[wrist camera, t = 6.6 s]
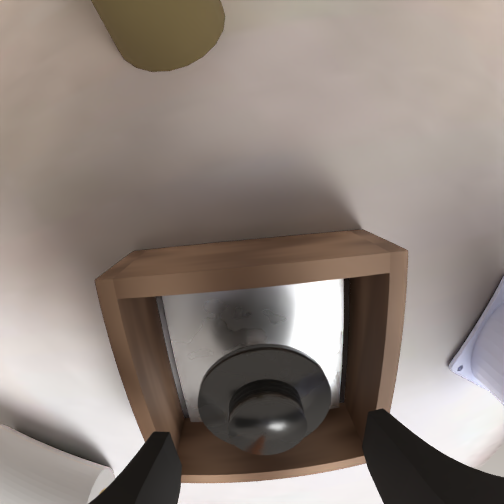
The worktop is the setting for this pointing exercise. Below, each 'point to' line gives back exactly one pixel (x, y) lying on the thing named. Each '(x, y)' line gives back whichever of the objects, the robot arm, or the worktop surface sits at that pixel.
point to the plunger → (259, 360)
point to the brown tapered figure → (162, 30)
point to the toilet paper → (46, 473)
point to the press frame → (246, 277)
